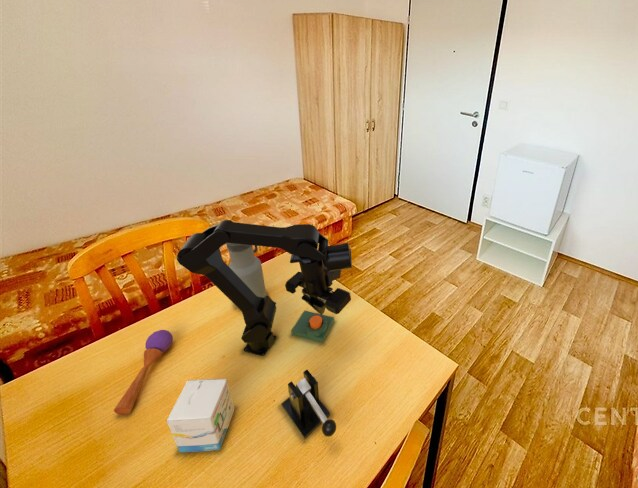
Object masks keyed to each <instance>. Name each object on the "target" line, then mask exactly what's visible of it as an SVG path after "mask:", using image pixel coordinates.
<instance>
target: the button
mask: <svg viewBox="0 0 638 488" xmlns="http://www.w3.org/2000/svg"><path fill="white" fill-rule="evenodd" d="M309 323H310V327H311V328H312V329H318V328H320V327H321V326H322V318H321V317H320V316H318V315H316V316H313V317H311V318H310V321H309Z"/></svg>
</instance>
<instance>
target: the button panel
mask: <svg viewBox="0 0 638 488" xmlns="http://www.w3.org/2000/svg"><path fill="white" fill-rule="evenodd" d="M316 315H318V316H320V317H321V318H322V326H321V327H320V328H318V329H312V328H311V327H310V323H309V321H310V318H311V317H313V316H316ZM334 324H335V317H334V316H330V315H325V314H322V315H321V314H319V313H318V312H313V311H309V310H305V309H304V310H303V312H302V313H301V314H300V317H298V320H297V321H296V322H295V324H294V326H293V327H292V328H291V331H290V332H291V336H292V337H297V338H301V339H304V340H308V341H312V342H317V343H321V344H324V342H325V340H326V338H327V336H328V334H329V332H330V331H331V329H332V327H333V326H334Z"/></svg>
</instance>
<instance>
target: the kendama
mask: <svg viewBox="0 0 638 488" xmlns="http://www.w3.org/2000/svg"><path fill="white" fill-rule="evenodd" d="M173 341H174V336H173V334H172V333H171V332H170V331H169V330H167V329H159V330H157V331H154V332H152V333H151V334H150V335H149V336H148V337H147V339H146V340H145V349H144V351H143V366H142V368H141V370H140V371H139V372H138V374H137V375H136V376H135V379H133V381H132V382H131V384H130V385H129V387H128V388H127V390H126V391H125V393H124V394H123V395H122V397H121V398H120V400H119V401H118V403H117V404H116V406H115V407H114V409H113V412H114V413H115V414H117V415H128V414H131V412H132V410H133V408H134V405H135V402H136V400H137V398H138V396H139V393H140V390H141V389H142V385H143V382H144V380H145V378H146V375H147V372H148V370H149V367H150V366H152V365H153V364H154V363H155V362H156V361H157V360H159V359H160V358H161V357H162V356H163V354H164V353H166V351H167V350H169V349H170V348H171V347H172V344H173Z"/></svg>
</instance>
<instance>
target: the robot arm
mask: <svg viewBox="0 0 638 488" xmlns="http://www.w3.org/2000/svg"><path fill="white" fill-rule="evenodd" d="M226 243H234V244H244V245H253V246H254V247H255V246H257V247H265V248H266V247H267V248H275V249H279V250H280V249H281V250H283V251H284V252H286V253H288V254H289V255H290V259H289V263H290V264H295V263H296V264H297V263H298V264H299V268H300V270H299V271H297V272H296V273H295V274H293V276H291V277H290V278H289V279H288V280H287V281H286V282H285V284H284V287H285V291H286V292H288V293H290V294H293V295H294V294H295V293H296V292H297V288H298V287H300V288H301V292H300V293H302V296H301V300H302V301H304V302H305V303H306V304H307V305H309V306H310V307H311V308H312V309H313V310H315V312H316V313H317V314H321V315H324V314H325V311H326V310H327V311H328V312H330V313H331V314H335V315H339V314H340V313H341V312H342V311H343V310H344V308H346V307H347V305H348V304H349V303H350V302H351V300H352V295H351V292H350V291H347V290H345V289H342V288H340V287H337V288H335V290H334V288H333V287H331V286H333V283H334V281H336V280H338V279H340V278H341V277H342V276H341V274H342V270H348V269H353V256H352V249H351V247H350V244H349V242H344V243H340V244H334V245H332V244H331V245H329V239H328V238H326V237H325V236H324V235H323V234H322V233H320V232H319V229H317V227H316V226H315V225H314V224H310V223H305V224H303V223H302V224H301V223H300V224H293V225H290V226H285V227H281V226H280V227H279V226H270V225H263V224H254V223H245V222H235V221H233V220H230V219H223V220H221V221H220V222H219V223H217V224H215V225H212V226H210V227H208V228H206V229H205V230H204V231H202V232H196V233H193V234H192V235H190V236H189V237H188V239H187V240H186V242H185V243H184V244H183V245H182V247H181V248H180V249H179V251H178V252H177V255H176V261H177V262H178V264H179V265H181V267H183V268H184V269H186V270H188V271H189V272H190V273H192V274H196V275H201V276H205V277H206V278H207V279H208V280H209V281H210V282H211V283H212V284H213V285H214V286H215V287H216V288H217V289H218V290H219V291H220V292H221V293H222V294H223V295H224V296H225V297H226V298H227V299H228V300H229V301H231V303H233V305H234V306H235V305H236V306H237V307H238V308H239V311H241V315H242V317H243V321H244V329H243V331H242V335H241V341H243V343H244V344H246V345H245V347H244V348H243V352H244V353H248V354H252V355H256V356H260V357H265V356H266V354H267V353H268V351H269V350H270V349H271V348H272V346H273V345H274V343H275V341H276V340H277V336H276V335H274V332H273V331H272V329H273V325H274V321H275V317H276V312H277V310H278V309H277V302H276V301H274V300H273V299H272V298H271V296H270V295H269V294H266V296H265V297H258V296H256V295H255V294H254V293H253V291H252V290H251V289H250V288H249V287H248V286H247V285H246V284H245V283H244V282H243V281H242V280H241V279H240V278H239V277H238V276H237V275H236V274H235V273H234V272H233V270H232V269H231V268H230V267H229V266H228V265H229V264H227V263H226V262H225V261H224V259H223V255H222V252H221V249H220V248H222V247H223V246H225V245H226ZM236 306H235V307H236ZM237 307H236V308H237ZM238 308H237V309H238Z"/></svg>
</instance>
